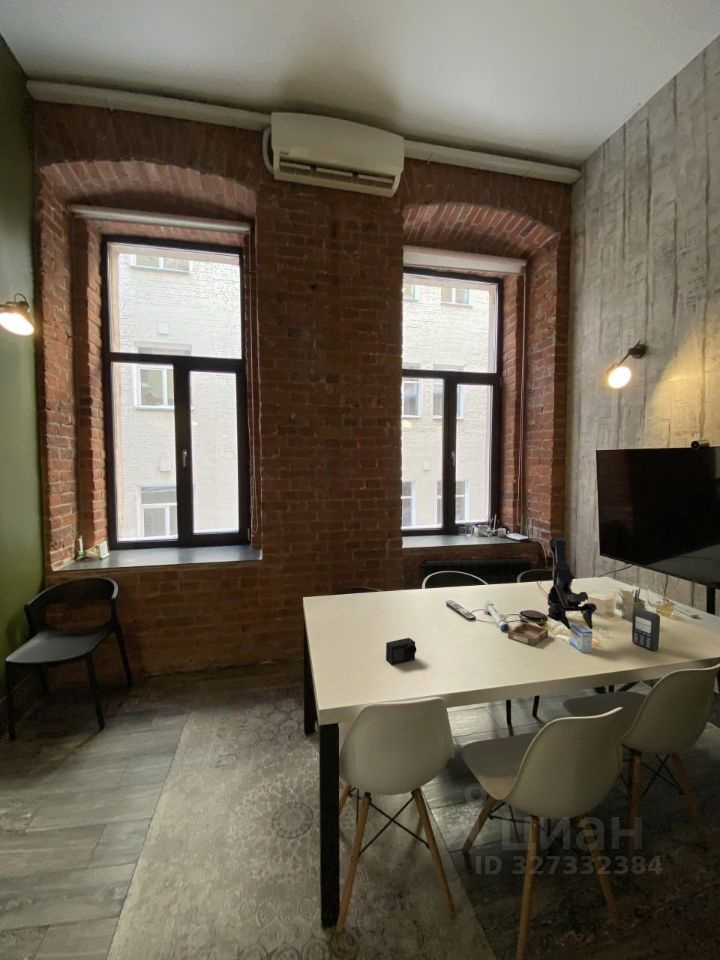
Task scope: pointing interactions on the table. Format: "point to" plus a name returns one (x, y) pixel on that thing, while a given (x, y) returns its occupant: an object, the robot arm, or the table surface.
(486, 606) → the white stick
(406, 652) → the digital camera
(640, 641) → the card reader
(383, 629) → the table surface
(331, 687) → the table surface
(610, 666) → the table surface
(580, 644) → the medicine box
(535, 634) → the tray
